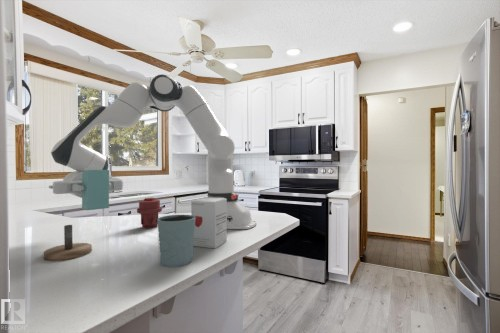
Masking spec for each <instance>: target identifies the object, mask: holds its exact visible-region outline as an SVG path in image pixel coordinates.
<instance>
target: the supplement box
mask: <svg viewBox="0 0 500 333" xmlns="http://www.w3.org/2000/svg"><path fill="white" fill-rule="evenodd" d="M207 197H208V196H205V197H200V198H197V199H192V200H191V206H190V208H191V213H190V215H192V216H195V218H196V219H195V228H194V246H193V247H200V248H206V249H207V248H208V249H217V248H218V247H219V246H221V245H223V244H224V243H226V242H227V237H228V236H227V230H228V229H227V199H226V198H207Z"/></svg>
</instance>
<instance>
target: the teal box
mask: <svg viewBox="0 0 500 333" xmlns="http://www.w3.org/2000/svg"><path fill="white" fill-rule="evenodd" d="M109 175H110V170H109V169H108V170H82V185H85V191H82V198H81V207H82V208H81V209H84V210H86V211H93V210H94V211H95V210H103V209H104V210H105V209H109V208H110V193H109Z"/></svg>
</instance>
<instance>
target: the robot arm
mask: <svg viewBox="0 0 500 333" xmlns="http://www.w3.org/2000/svg"><path fill="white" fill-rule="evenodd" d="M175 107H177V108H179V109H180V110H181V112H182V113H183V115H184V116H185V118H186V120H187V121H188V122H189V124H190V126H191V127H192V129H193V131H194V132H195V134H196V136H198V138H199V140H200V141H201V143H202V144H203V146H204V147H205V148H206V150H207V168H208V169H207V170H208V171H207V172H208V174H207V176H208V178H207V179H208V180H207V181H208V182H207V183H208V192H207V196H206V197H207V198H226V199H227V230H248V229H253V228H254V227H255V226H257V220H255V219H253V218H252V214H251V211H250V209H249V208H248V207H247V206H246V205H244V204H243V203H241V201H239V193H236V192H235V191H234V189H235V188H234V183H235V182H234V166H233V164H234V163H233V155H234V153H235V149H236V148H235V143H234V140H233V139H232V138H231V136H230V134H228V132H227V130H226V129H225V127H224V126H223V125H222V124H221V123H220V121H219V119H218V118H217V117H216V115H215V113H214V111H213V110H212V109H211V107H210V105H209V103H207V101H206V99H205V98H204V97H203V95H202V94H201V92H199V91H198V90H197V89H196V87H195V86H193V85H185V86H182V84H181V83H180V82H178V81H176V80H175V79H174V78H173V77H171V76H170V75H167V74H158V75H155V76H154V77H153V78H152V80H151V81H150V84H149V85H147V86H146V85H145V84H143V83H141V82H137V81H135V82H130V84H129V85H128V86H126V87H125V89H123V90H122V92H120V94H119V95H118V96H117V98H116V99H115V100H114V101H113V102H112V103H111V104H109V105H106V106H104V105H100V106H99V107H97V108H95V109H94V110H92V112H91V113H90V114H88V115H87V117H85V118H84V119H83V120H82V121H81V122H80V123H79V124H78V125H77V126H76V127H74V128H73V129H72V130H71V131H70V132H69V133H68V134H67V135H66V136H64V137H63V138H62V139H60V140H59V141H57V142H56V143H55V144H54V146H53V147H52V149H51V151H50V154H51V157H52V159H53V161H54V162H55V163H56V164H59V165H62V166H64V167H68V168H69V169H72V170H74V171H73V172H70V173H68V174H65V176H64V178H63V179H62V180H56V181H53V182H52V185H48V188H49V189H51V190H52V193H53V194H54V195H63V194H66V195H67V194H70V195H72V196H74V197H77V198H80V199H82V191H85V185H82V170H109V159H108V157H107V155H104V154H103V153H101V152H98V151H97V150H94V149H93V148H91V147H89V146H87V145H85V144H84V143H82V142H81V140H83V139H84V137H86V136H87V135H88V134H89V133H90V132H91V131H92V130H93V129H94V128H95V127H96V126H99V125H108V126H113V127H116V128H117V127H118V128H125V129H126V128H131V127H133V126H135V125H136V124H137V123H138V122H139V120H140V119H141V117H142V116H143V115H144V113H145V112H146V111H147V109H148V108H150V109H154V110H157V111H160V112H166V113H167V112H170V111H171V110H173V109H174V108H175ZM123 189H124V181H123V179H122V178H118V177H113V176H112V175H110V174H109V194H110V193H112V192H118V191H122V190H123Z"/></svg>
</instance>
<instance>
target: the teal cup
mask: <svg viewBox="0 0 500 333" xmlns="http://www.w3.org/2000/svg"><path fill="white" fill-rule="evenodd" d="M195 219H196V218H195V216H192V214H171V215H163V216H159V217H158V219H157V222H158V227H157V230H158V231H157V232H158V242H159V252H160V254H159V256H160V257H159V258H160V263H161V265H162V266H163V267H168V268H176V267H183V266H187V265H189V264H191V263H192V262H193V259H194V247H195V246H194V228H195Z"/></svg>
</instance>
